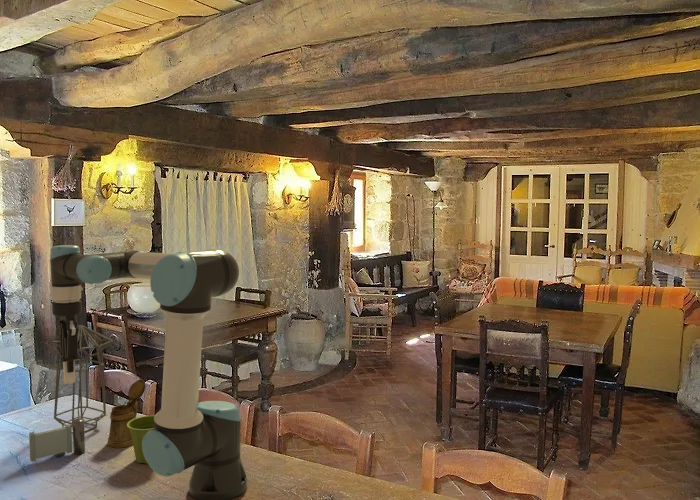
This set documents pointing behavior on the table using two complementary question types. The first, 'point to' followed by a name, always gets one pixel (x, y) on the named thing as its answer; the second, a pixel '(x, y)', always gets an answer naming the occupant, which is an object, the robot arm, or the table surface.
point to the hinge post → (78, 436)
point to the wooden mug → (125, 417)
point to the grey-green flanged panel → (50, 442)
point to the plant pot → (140, 434)
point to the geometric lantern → (89, 333)
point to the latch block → (60, 454)
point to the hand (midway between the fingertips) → (69, 382)
